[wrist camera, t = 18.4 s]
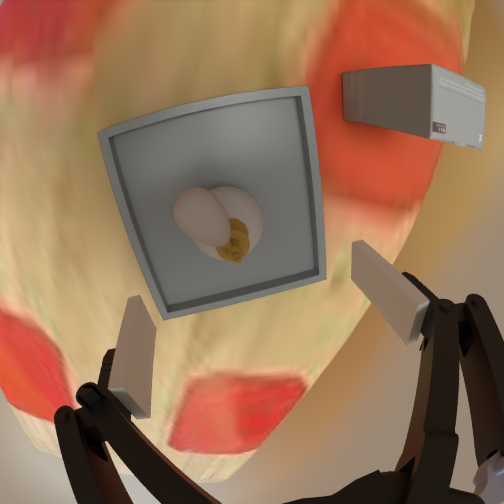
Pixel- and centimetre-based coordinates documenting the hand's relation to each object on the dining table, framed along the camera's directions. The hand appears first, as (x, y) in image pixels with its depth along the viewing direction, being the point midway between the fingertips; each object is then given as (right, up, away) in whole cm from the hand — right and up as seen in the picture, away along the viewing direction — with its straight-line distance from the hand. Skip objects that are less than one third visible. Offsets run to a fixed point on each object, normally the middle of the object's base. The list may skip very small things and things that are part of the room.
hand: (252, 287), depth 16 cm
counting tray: (-3, +7, +15) cm, 17 cm away
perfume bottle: (-4, +7, +15) cm, 17 cm away
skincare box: (+14, +21, +13) cm, 28 cm away
